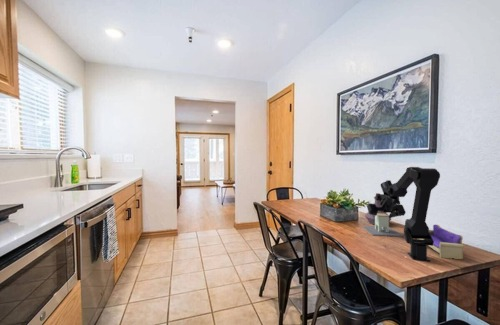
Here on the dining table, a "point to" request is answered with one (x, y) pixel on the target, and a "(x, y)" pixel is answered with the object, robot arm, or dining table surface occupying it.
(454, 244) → the toy sofa
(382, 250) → the dining table surface
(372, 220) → the flask
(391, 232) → the mat
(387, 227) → the stool
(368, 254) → the dining table surface
